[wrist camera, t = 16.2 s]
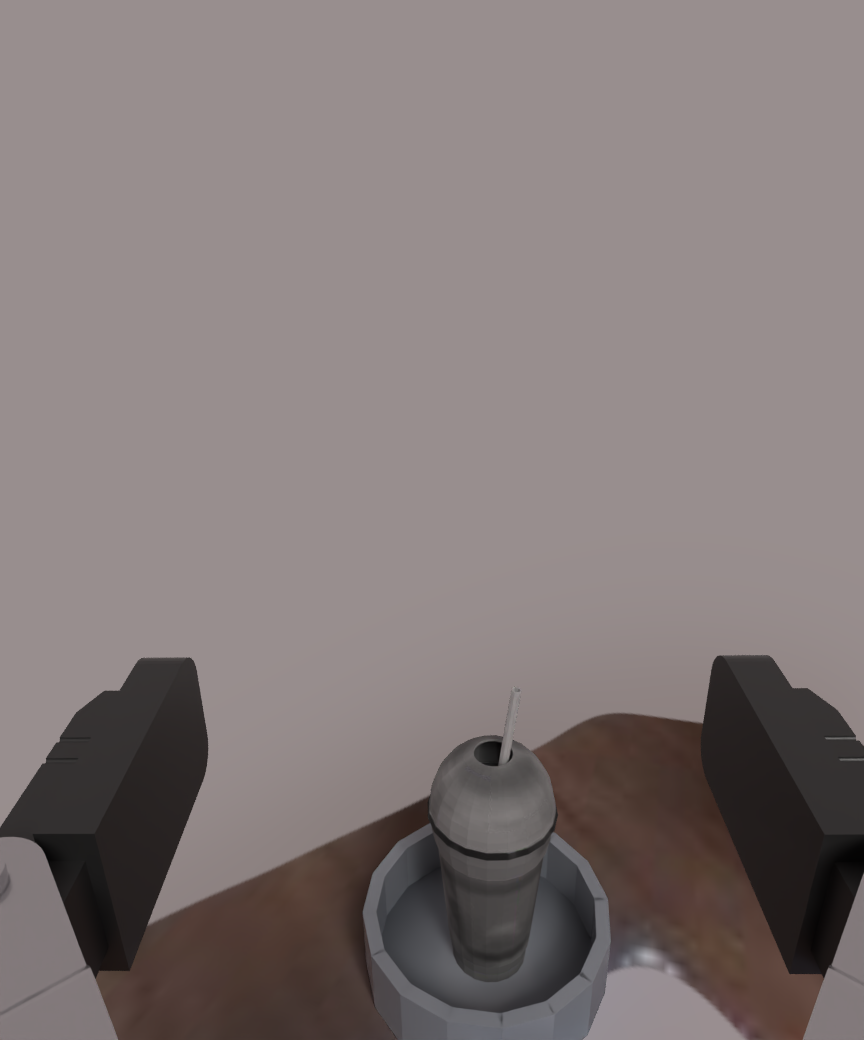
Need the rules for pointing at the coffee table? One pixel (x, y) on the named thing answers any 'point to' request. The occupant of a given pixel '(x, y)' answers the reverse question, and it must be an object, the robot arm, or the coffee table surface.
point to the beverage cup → (491, 847)
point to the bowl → (455, 995)
